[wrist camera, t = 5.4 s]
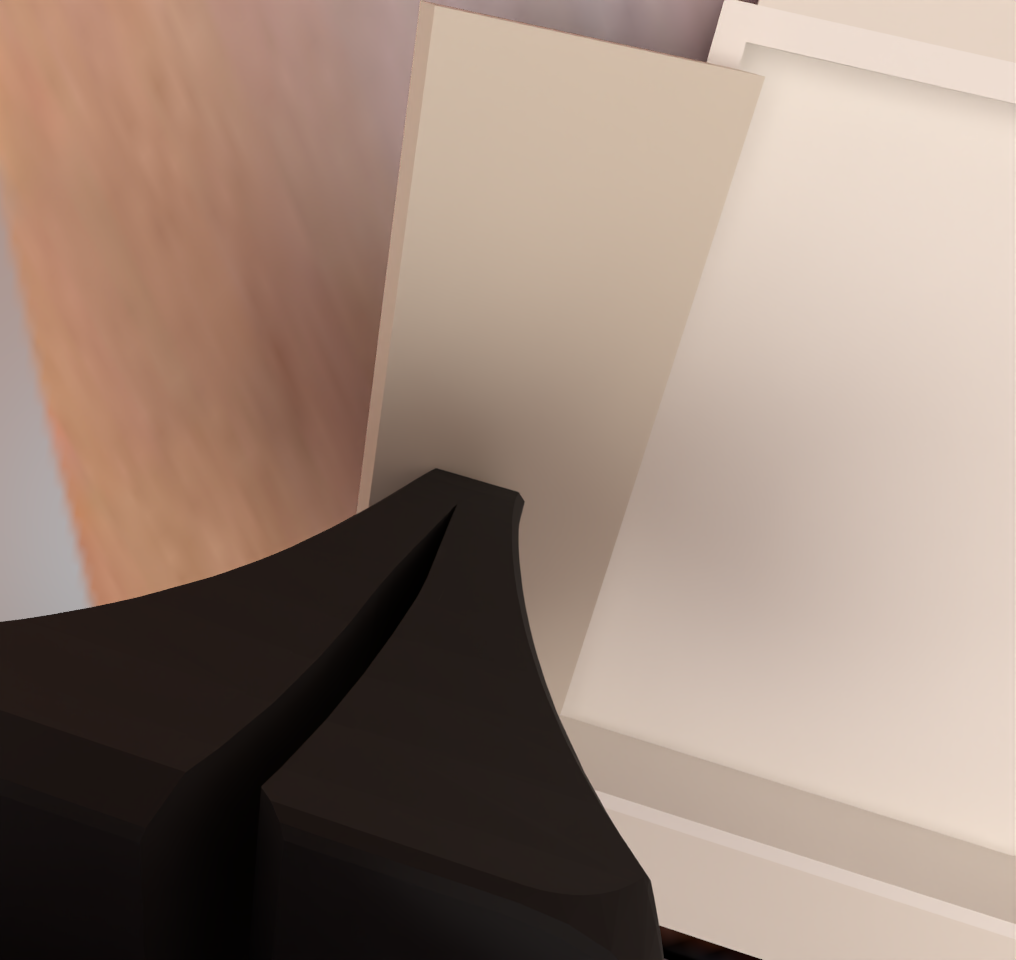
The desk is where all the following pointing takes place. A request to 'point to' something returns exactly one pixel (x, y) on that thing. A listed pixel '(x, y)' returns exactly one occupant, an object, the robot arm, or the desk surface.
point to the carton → (832, 512)
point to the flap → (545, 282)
